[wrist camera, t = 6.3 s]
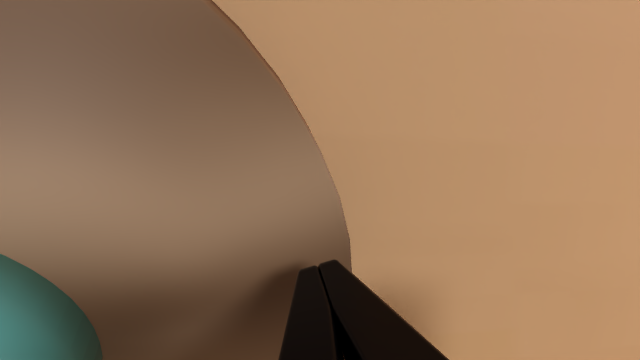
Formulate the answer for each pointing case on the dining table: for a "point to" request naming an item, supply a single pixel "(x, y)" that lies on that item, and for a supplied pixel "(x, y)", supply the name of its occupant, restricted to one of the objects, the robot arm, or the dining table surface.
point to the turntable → (159, 175)
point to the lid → (41, 319)
